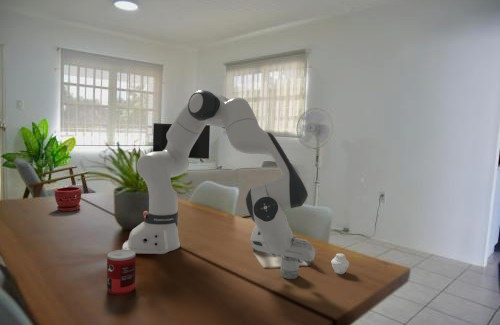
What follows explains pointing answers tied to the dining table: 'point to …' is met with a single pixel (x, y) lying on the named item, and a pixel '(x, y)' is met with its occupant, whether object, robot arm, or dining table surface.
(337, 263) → the white rounded ceramic piece
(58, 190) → the plant pot
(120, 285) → the canned food
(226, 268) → the dining table surface
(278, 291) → the dining table surface
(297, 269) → the camera lens
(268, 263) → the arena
